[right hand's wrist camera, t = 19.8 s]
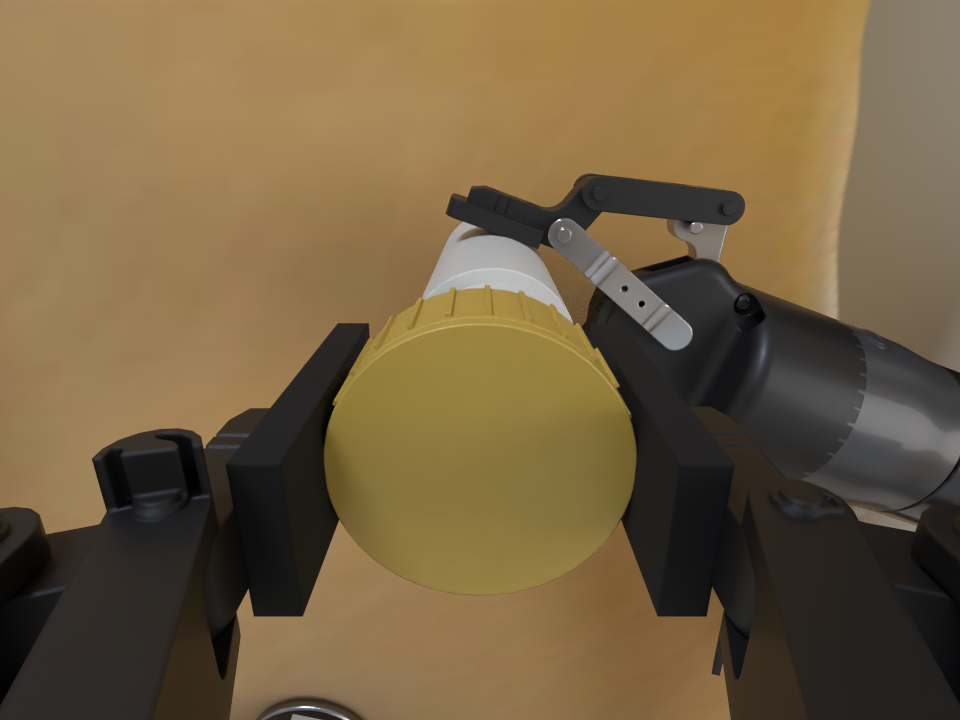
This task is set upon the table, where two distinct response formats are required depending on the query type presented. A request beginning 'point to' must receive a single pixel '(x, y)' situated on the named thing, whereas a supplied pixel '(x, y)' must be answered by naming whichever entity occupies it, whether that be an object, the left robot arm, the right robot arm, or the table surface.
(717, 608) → the table surface
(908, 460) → the left robot arm
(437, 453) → the lid
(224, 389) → the table surface
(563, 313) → the jar
